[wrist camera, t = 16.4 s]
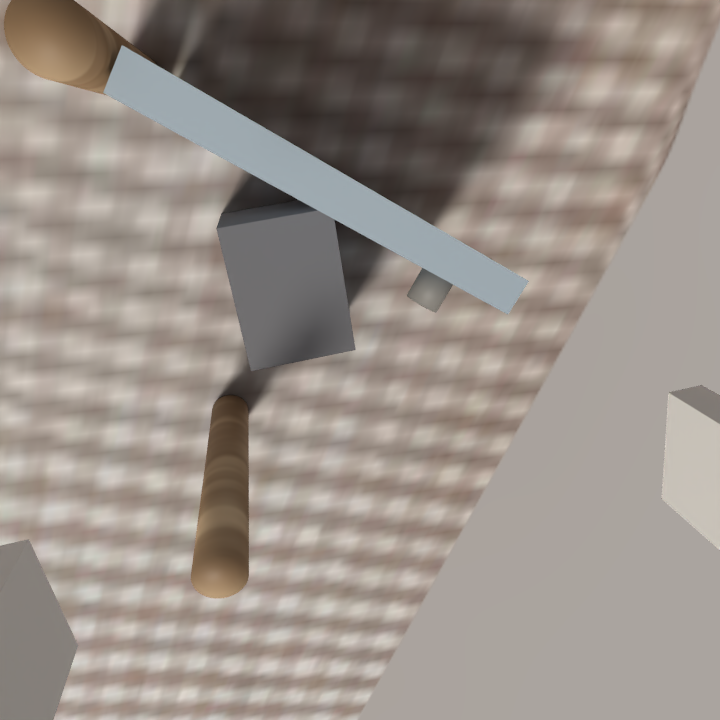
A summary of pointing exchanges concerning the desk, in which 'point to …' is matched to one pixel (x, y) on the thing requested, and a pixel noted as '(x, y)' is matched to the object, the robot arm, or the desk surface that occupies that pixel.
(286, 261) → the block
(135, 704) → the desk surface
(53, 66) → the door frame
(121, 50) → the door
